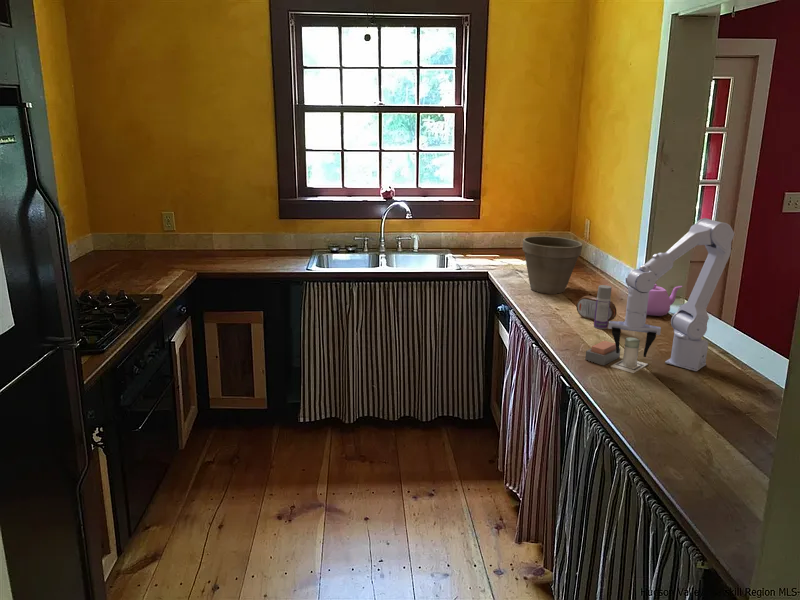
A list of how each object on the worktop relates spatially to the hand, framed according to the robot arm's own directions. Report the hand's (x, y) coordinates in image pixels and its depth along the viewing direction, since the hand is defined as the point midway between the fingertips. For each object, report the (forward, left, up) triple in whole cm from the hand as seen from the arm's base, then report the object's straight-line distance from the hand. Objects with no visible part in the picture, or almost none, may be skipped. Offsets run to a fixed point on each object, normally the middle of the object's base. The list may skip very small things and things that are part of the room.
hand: (631, 354), depth 193 cm
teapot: (+20, -61, -4) cm, 64 cm away
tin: (+31, -36, -4) cm, 47 cm away
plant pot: (+66, -61, -4) cm, 90 cm away
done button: (+8, +1, -1) cm, 9 cm away
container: (+25, -29, -4) cm, 38 cm away
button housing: (+9, +1, -4) cm, 9 cm away
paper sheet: (0, 0, -4) cm, 4 cm away
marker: (0, 0, -4) cm, 4 cm away
